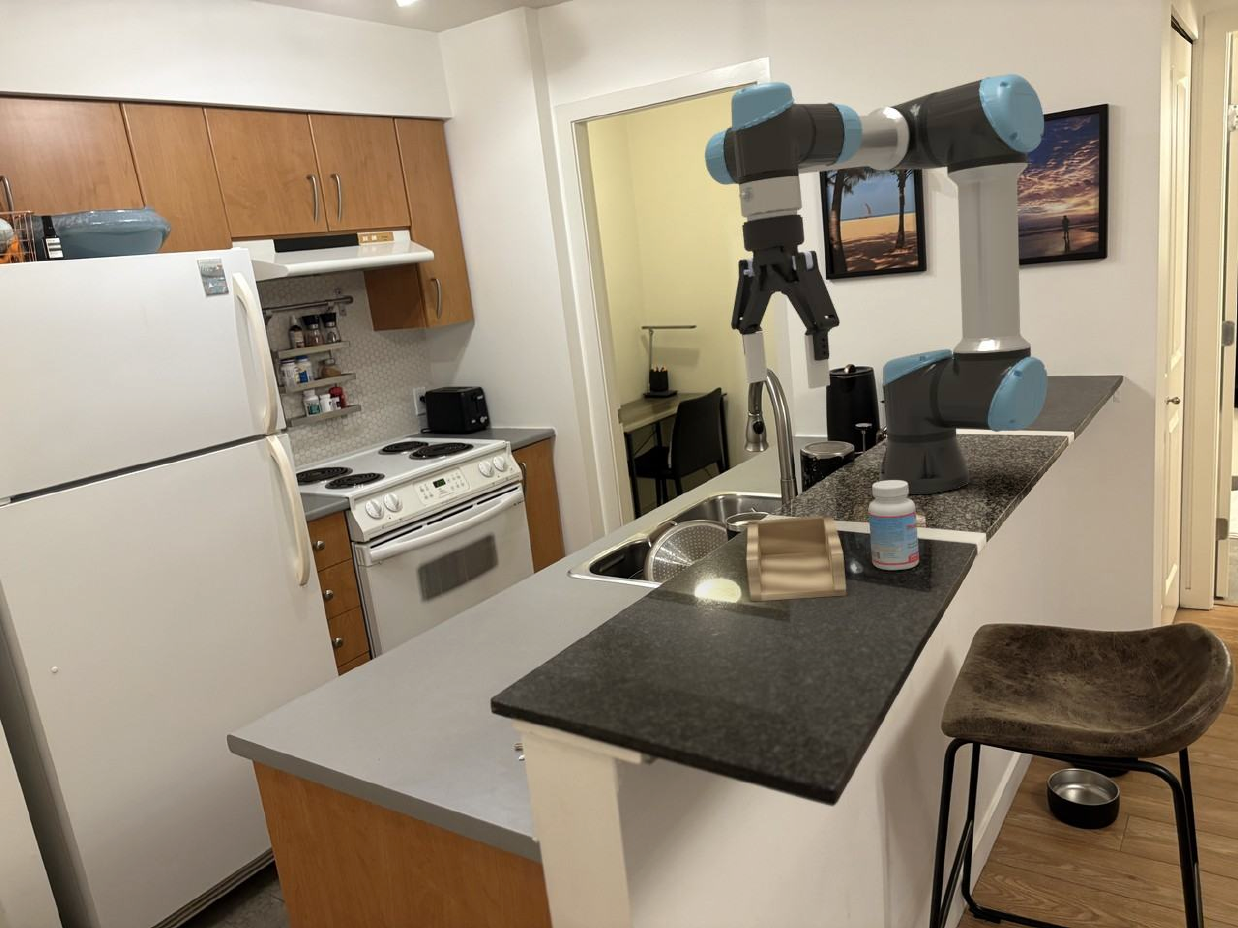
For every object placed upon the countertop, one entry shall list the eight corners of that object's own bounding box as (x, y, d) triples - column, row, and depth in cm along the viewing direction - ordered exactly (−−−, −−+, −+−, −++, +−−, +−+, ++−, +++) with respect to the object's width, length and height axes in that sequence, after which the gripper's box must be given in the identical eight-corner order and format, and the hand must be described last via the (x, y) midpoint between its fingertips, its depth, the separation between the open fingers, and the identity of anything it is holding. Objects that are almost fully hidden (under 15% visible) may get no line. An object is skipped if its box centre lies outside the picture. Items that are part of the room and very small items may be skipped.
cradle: (751, 558, 135) (748, 521, 134) (835, 552, 133) (832, 514, 132) (750, 601, 118) (746, 559, 117) (846, 595, 116) (843, 552, 115)
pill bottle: (921, 570, 121) (916, 487, 119) (873, 572, 123) (867, 491, 120) (916, 555, 127) (911, 476, 125) (871, 558, 128) (865, 480, 126)
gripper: (696, 229, 125) (712, 383, 130) (807, 207, 103) (823, 394, 107) (742, 224, 128) (757, 375, 132) (861, 201, 106) (874, 384, 110)
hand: (787, 384), depth 120 cm, fingers open, 13 cm apart
